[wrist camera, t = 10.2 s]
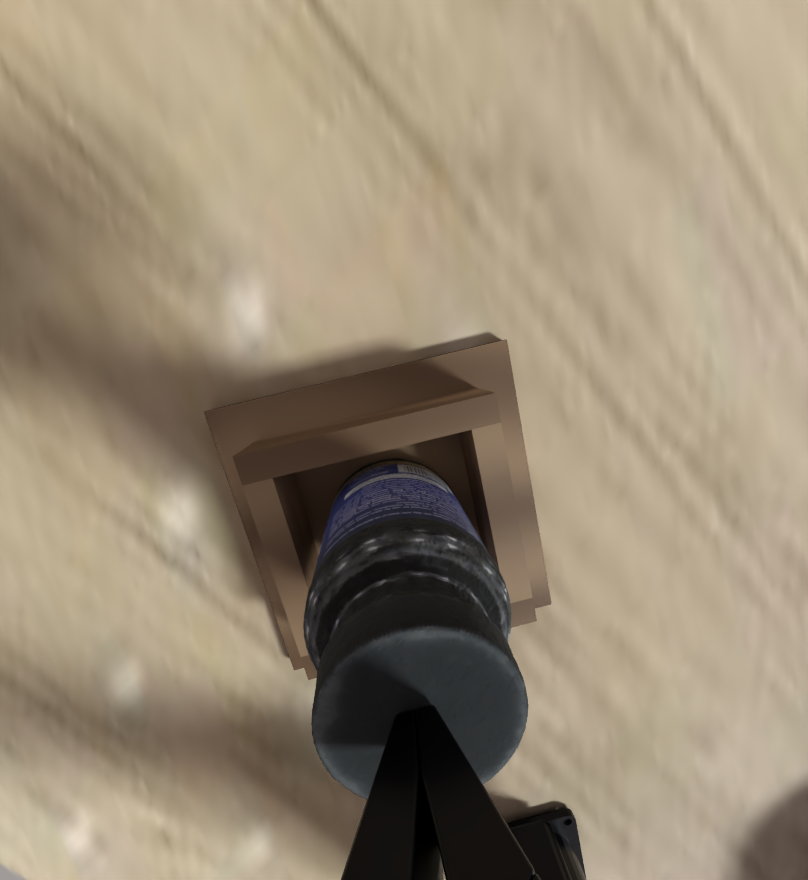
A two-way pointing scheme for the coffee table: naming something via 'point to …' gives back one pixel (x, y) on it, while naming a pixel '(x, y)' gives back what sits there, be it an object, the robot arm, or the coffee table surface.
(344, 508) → the pill bottle
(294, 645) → the walnut holder
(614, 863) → the coffee table surface
